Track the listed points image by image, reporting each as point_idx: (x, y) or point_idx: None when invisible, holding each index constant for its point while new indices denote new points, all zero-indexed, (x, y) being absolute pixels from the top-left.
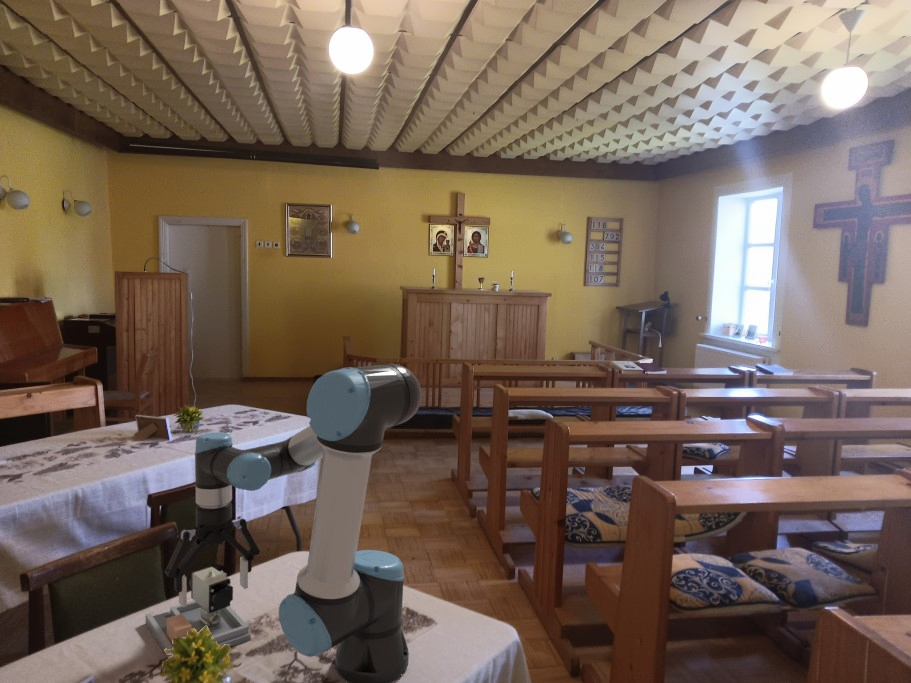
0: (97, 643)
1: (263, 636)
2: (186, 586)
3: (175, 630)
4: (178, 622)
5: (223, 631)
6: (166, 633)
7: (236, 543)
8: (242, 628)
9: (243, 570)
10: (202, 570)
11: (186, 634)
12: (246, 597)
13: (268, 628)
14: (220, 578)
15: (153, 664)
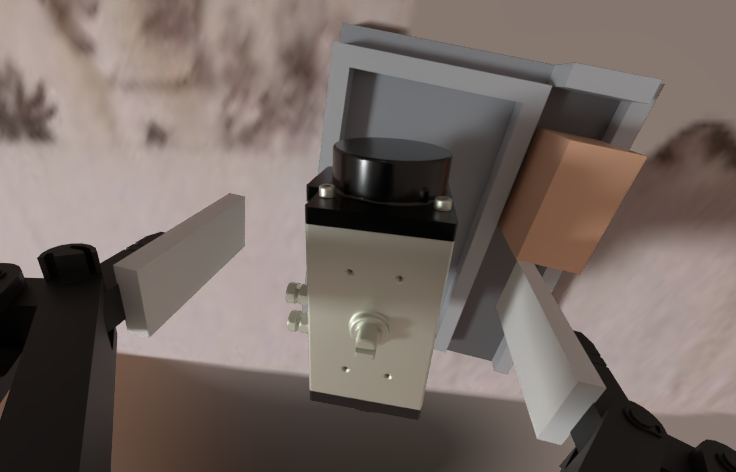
0: (642, 364)
1: (299, 8)
2: (553, 329)
3: (645, 159)
4: (580, 210)
5: (400, 127)
6: None
7: (18, 459)
8: (359, 48)
9: (189, 252)
10: (368, 397)
11: (578, 139)
12: (235, 266)
13: (260, 47)
14: (348, 260)
15: (656, 155)
